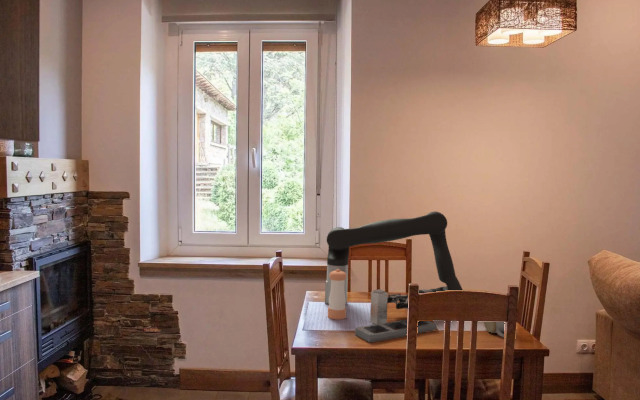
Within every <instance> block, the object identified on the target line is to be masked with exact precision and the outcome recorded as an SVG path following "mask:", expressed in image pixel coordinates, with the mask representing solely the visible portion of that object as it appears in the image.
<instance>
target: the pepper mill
mask: <svg viewBox="0 0 640 400" xmlns="http://www.w3.org/2000/svg"><path fill="white" fill-rule="evenodd" d="M329 278H330V279H331V291H330V296H329V304H328V307H327V318H329V319H332V320H344V319H346V318H347V307H346V304H345V301H346V299H345V291H344V286H345V279H346V278H347V275H346V273H345V272H343V271H340V269H337V270H336V271H332V272H331V273H330V274H329Z"/></svg>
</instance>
